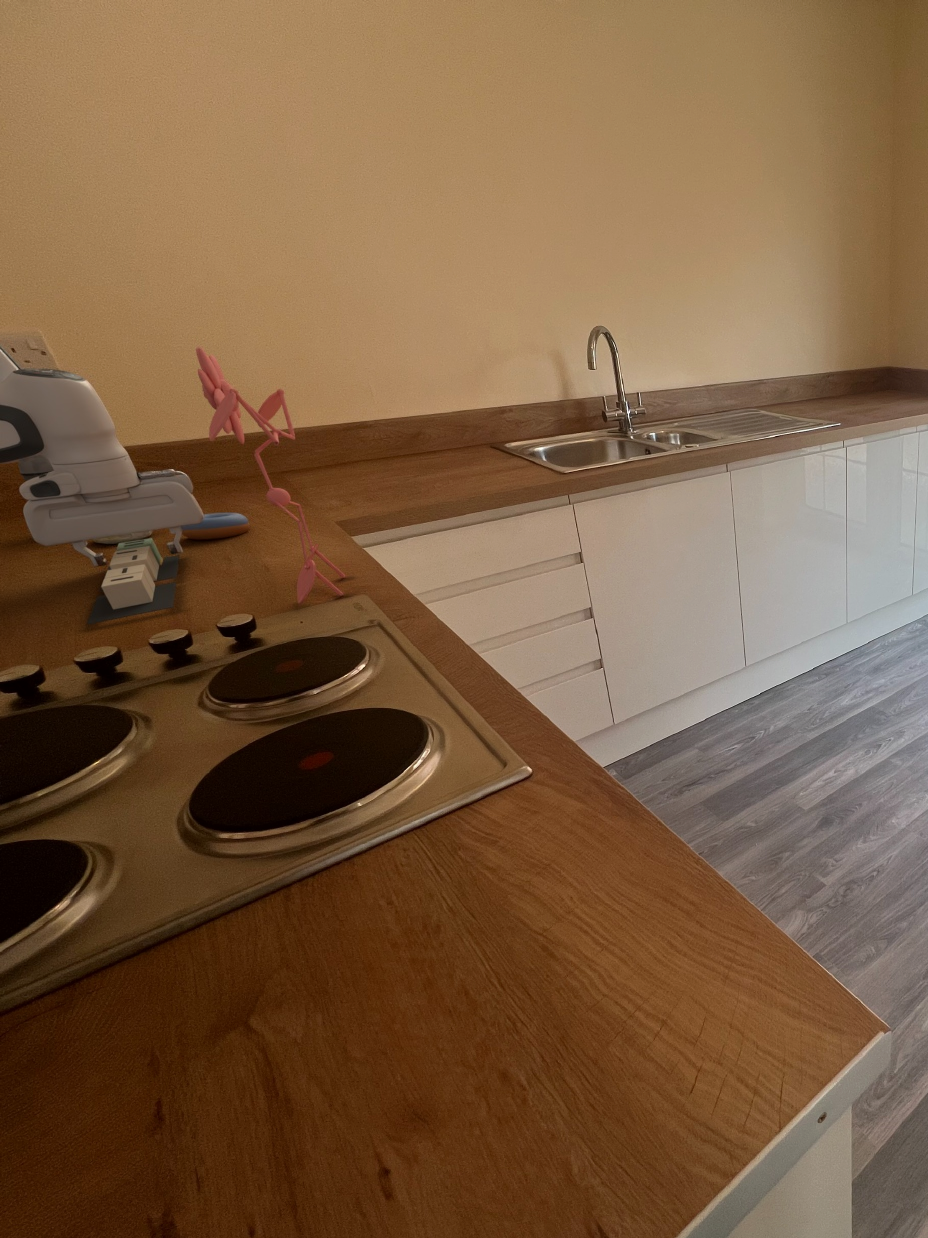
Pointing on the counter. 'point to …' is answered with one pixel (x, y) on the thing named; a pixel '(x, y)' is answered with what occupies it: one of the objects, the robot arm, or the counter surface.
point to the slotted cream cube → (135, 563)
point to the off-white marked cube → (138, 551)
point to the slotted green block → (141, 544)
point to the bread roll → (123, 538)
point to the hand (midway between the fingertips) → (140, 558)
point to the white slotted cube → (131, 571)
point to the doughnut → (217, 526)
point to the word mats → (160, 601)
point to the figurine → (258, 450)
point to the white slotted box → (127, 590)
